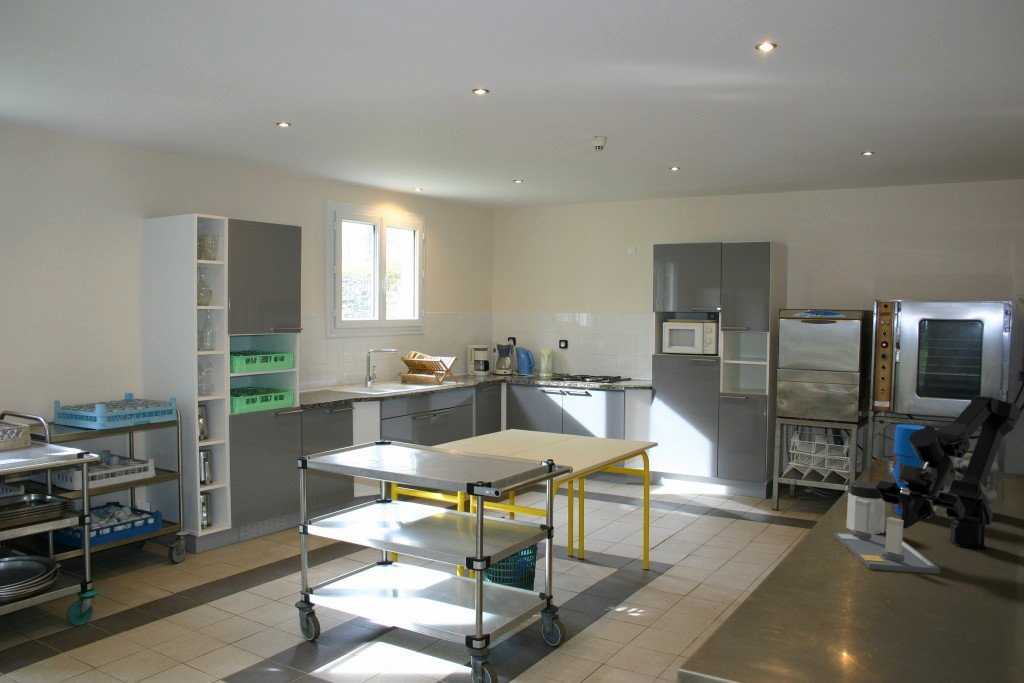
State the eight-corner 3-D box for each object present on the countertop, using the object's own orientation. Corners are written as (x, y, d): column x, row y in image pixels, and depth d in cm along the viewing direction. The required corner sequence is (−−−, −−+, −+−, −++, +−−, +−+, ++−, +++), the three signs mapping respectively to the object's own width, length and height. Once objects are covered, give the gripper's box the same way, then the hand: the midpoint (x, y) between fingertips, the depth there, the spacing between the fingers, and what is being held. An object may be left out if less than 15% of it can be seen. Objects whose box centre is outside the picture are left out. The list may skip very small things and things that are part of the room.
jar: (869, 536, 200) (871, 490, 200) (840, 528, 207) (842, 483, 207) (889, 532, 205) (891, 486, 205) (860, 524, 212) (863, 480, 211)
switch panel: (897, 541, 197) (897, 535, 197) (940, 573, 172) (940, 567, 172) (835, 537, 199) (835, 531, 199) (868, 569, 174) (869, 562, 174)
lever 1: (854, 534, 196) (856, 498, 196) (871, 538, 193) (873, 502, 192) (851, 535, 196) (853, 499, 195) (867, 539, 192) (869, 503, 192)
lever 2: (885, 555, 179) (887, 516, 179) (904, 561, 176) (906, 521, 175) (881, 556, 179) (883, 517, 178) (900, 562, 175) (902, 521, 175)
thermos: (929, 511, 229) (934, 426, 228) (936, 520, 219) (941, 431, 218) (888, 507, 233) (893, 423, 232) (893, 516, 222) (897, 428, 222)
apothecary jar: (951, 514, 226) (954, 452, 226) (945, 505, 237) (948, 446, 237) (1000, 520, 222) (1003, 456, 221) (992, 510, 233) (995, 450, 232)
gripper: (881, 445, 189) (852, 496, 183) (961, 459, 173) (932, 514, 168) (898, 475, 194) (870, 525, 188) (977, 491, 178) (949, 546, 172)
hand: (903, 527), depth 179 cm, fingers closed
